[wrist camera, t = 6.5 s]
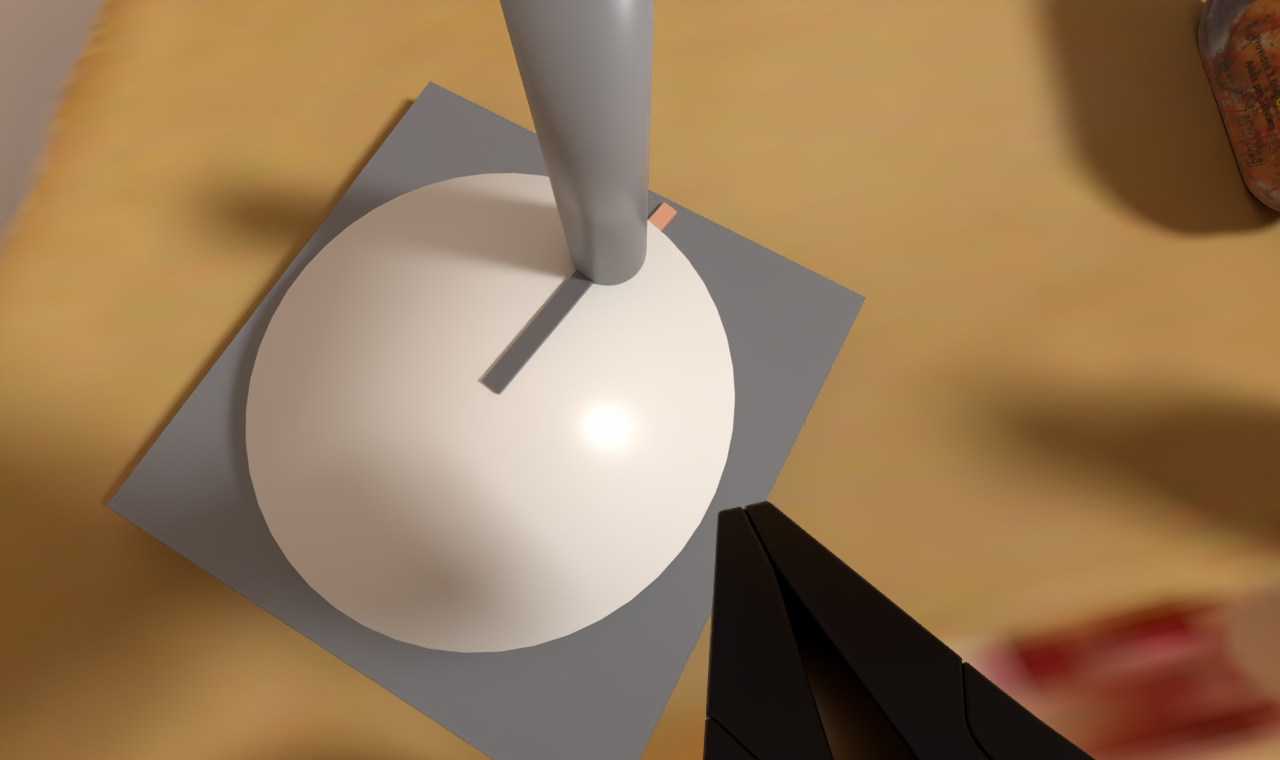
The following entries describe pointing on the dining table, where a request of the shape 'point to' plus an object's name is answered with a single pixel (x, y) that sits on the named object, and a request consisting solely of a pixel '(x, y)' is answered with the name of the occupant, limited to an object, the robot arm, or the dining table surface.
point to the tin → (1247, 85)
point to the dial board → (597, 654)
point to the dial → (501, 375)
